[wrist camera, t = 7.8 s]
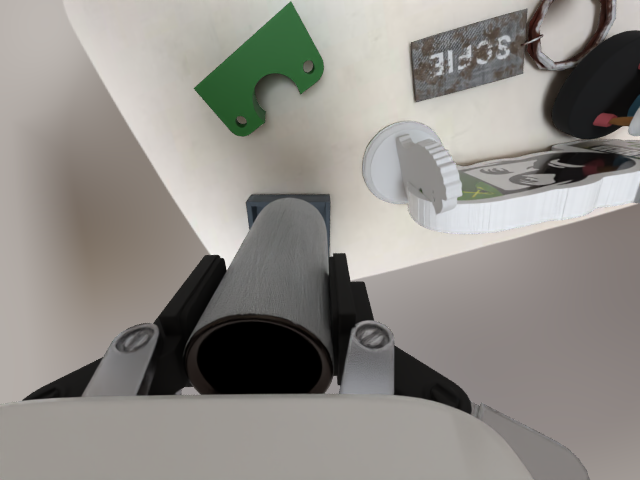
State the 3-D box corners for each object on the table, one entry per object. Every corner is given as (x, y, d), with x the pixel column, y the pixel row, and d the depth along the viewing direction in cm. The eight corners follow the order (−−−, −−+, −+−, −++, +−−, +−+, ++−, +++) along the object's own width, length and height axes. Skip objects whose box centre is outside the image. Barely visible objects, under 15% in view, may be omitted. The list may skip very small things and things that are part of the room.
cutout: (785, 153, 20) (448, 220, 20) (765, 189, 21) (447, 252, 21) (586, 135, 34) (387, 176, 34) (581, 158, 35) (388, 197, 35)
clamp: (257, 109, 35) (229, 148, 29) (223, 63, 32) (183, 98, 26) (337, 55, 29) (320, 91, 23) (304, -10, 25) (274, 14, 20)
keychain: (407, 26, 28) (413, 21, 26) (611, -35, 26) (634, -45, 24) (414, 109, 31) (420, 109, 29) (595, 61, 29) (614, 58, 27)
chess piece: (372, 211, 36) (403, 273, 23) (353, 137, 32) (377, 159, 19) (446, 189, 35) (526, 241, 22) (436, 108, 31) (527, 110, 17)
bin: (259, 261, 40) (254, 272, 37) (251, 194, 36) (245, 201, 33) (328, 261, 40) (329, 272, 37) (329, 194, 36) (330, 201, 33)
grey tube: (240, 223, 17) (147, 361, 8) (297, 181, 16) (266, 286, 7) (285, 272, 19) (252, 435, 10) (340, 238, 18) (363, 385, 8)
